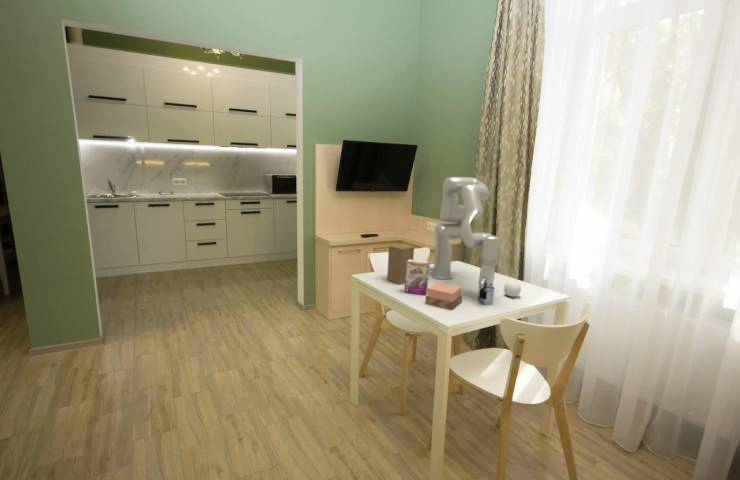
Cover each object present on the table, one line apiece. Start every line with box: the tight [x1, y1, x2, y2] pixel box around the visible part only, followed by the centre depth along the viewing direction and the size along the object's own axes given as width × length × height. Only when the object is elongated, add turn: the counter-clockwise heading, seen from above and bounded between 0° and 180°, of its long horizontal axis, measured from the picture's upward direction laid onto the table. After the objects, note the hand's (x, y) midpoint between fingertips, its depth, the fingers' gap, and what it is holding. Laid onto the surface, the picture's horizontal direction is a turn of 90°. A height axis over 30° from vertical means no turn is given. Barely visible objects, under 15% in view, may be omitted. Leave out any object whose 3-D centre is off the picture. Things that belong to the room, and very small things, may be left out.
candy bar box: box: [404, 259, 431, 296], centre depth 190 cm, size 11×5×16 cm, turn 71°
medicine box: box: [477, 284, 495, 305], centre depth 182 cm, size 8×4×9 cm, turn 7°
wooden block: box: [386, 243, 415, 285], centre depth 208 cm, size 10×10×20 cm
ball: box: [503, 280, 522, 298], centre depth 191 cm, size 8×8×8 cm
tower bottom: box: [425, 294, 463, 311], centre depth 178 cm, size 13×13×4 cm
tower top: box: [426, 281, 462, 302], centre depth 177 cm, size 12×12×4 cm
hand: (485, 295), depth 182 cm, fingers open, 9 cm apart
